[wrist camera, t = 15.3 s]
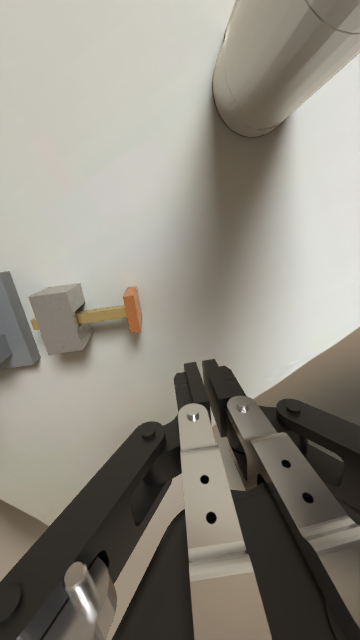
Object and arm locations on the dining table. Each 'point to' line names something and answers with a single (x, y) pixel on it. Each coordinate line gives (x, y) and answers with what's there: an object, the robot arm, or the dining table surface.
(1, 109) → the dining table surface
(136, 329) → the lock pin
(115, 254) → the dining table surface
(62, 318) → the block
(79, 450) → the dining table surface
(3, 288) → the socket
